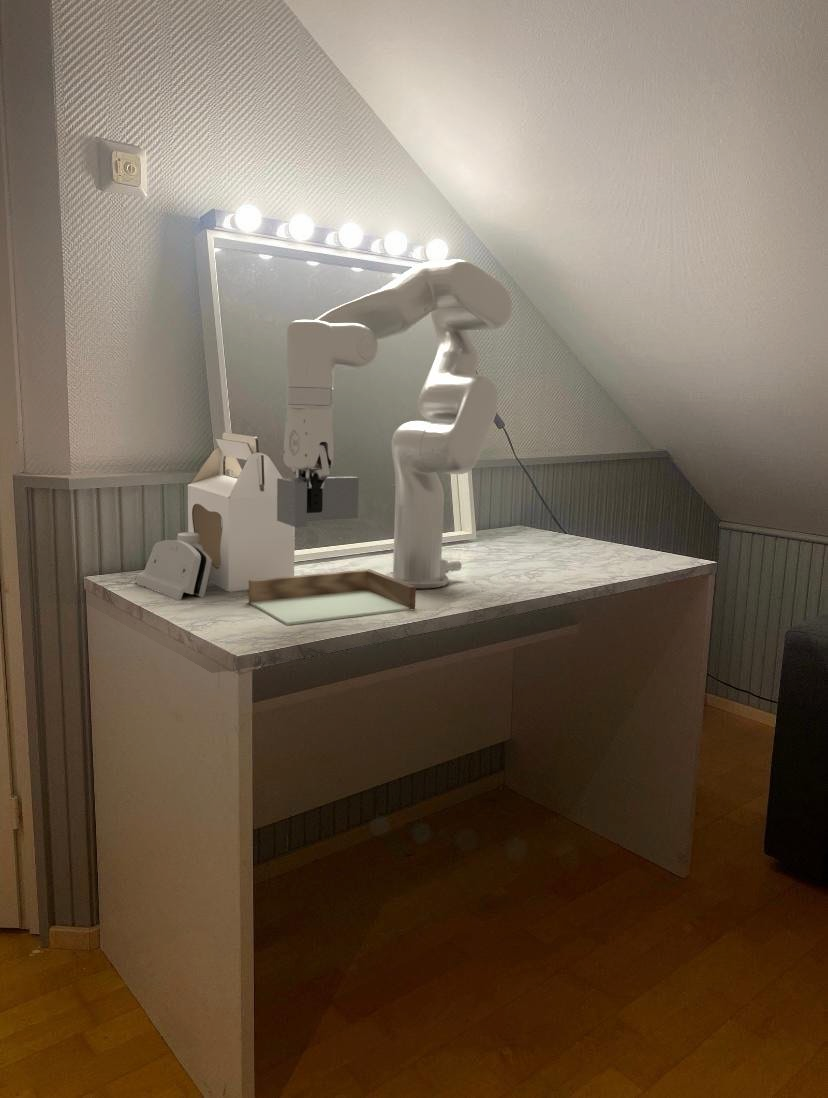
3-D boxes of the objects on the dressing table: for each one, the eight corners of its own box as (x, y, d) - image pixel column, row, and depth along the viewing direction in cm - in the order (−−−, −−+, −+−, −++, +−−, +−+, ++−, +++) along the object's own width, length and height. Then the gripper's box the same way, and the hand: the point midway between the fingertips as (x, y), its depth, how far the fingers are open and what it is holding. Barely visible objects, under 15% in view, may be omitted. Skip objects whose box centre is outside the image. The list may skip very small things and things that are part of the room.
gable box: (187, 570, 170) (186, 431, 165) (248, 564, 178) (249, 431, 173) (229, 592, 152) (228, 437, 147) (295, 586, 159) (296, 438, 155)
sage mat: (366, 592, 156) (366, 589, 156) (409, 610, 144) (409, 607, 144) (251, 604, 144) (251, 602, 144) (287, 625, 132) (287, 622, 132)
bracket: (277, 520, 138) (277, 478, 137) (352, 516, 145) (352, 476, 144) (295, 526, 132) (295, 482, 131) (372, 522, 140) (373, 480, 138)
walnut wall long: (368, 590, 158) (369, 569, 157) (372, 591, 157) (372, 570, 156) (248, 602, 145) (248, 580, 144) (251, 604, 144) (251, 581, 143)
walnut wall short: (372, 591, 157) (372, 570, 156) (415, 609, 145) (415, 586, 144) (366, 592, 156) (367, 571, 156) (409, 610, 144) (410, 587, 144)
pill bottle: (190, 575, 165) (190, 530, 164) (208, 579, 162) (208, 533, 161) (169, 579, 161) (168, 533, 159) (187, 583, 158) (186, 537, 157)
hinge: (133, 583, 157) (149, 532, 157) (155, 588, 160) (171, 538, 161) (179, 600, 145) (196, 544, 146) (202, 605, 149) (218, 551, 149)
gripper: (269, 397, 141) (269, 506, 144) (310, 400, 128) (309, 519, 131) (309, 398, 145) (309, 504, 148) (353, 400, 132) (352, 516, 135)
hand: (309, 510), depth 140 cm, fingers closed on bracket
